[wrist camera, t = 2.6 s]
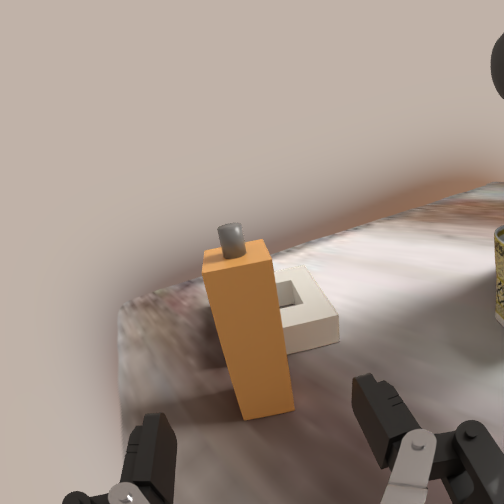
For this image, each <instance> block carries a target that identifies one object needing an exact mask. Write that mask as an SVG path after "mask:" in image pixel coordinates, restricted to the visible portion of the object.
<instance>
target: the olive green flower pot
mask: <svg viewBox="0 0 504 504" xmlns="http://www.w3.org/2000/svg"><path fill="white" fill-rule="evenodd" d="M494 242H495V264H496V275H497V280H496V312H495V318H496V319H497V321H498V322H499V323H500V324H501V325H502V326H503V327H504V225H503V226H500V227H499V228H497V229H496V230H495V233H494Z"/></svg>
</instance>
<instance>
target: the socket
mask: <svg viewBox="0 0 504 504" xmlns="http://www.w3.org/2000/svg"><path fill="white" fill-rule="evenodd" d="M274 275H275V282H276V288H277V294H278V301H279V307H280V306H285V305H289V304H295V306H291V307H286V308H281V309H280V313H281V320H282V326H283V333H284V339H285V346H286V353H287V355H288V354H292V353H296V352H301V351H305V350H309V349H313V348H317V347H321V346H325V345H329V344H333V343H336V342H339V316H338V313H337V312H336V310H335V309H334V307H333V306H332V304H331V303H330V301H329V300H328V298H327V297H326V296H325V294H324V293H323V291H322V290H321V288H320V287H319V285H318V284H317V282H316V281H315V280H314V278H313V277H312V275H311V274H310V272H309V271H308V269H307V268H306V267H305V265H302V266H298V267H293V268H288V269H283V270H278V271H274Z"/></svg>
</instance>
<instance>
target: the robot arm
mask: <svg viewBox="0 0 504 504" xmlns="http://www.w3.org/2000/svg"><path fill="white" fill-rule="evenodd" d="M491 75H492V80H493V83H494V85H495V88H496V90H497V92H498V93H499V95H500V96H501V97H502V98H503V99H504V33H503V34H502V36H501V37H500V38H499V39H498V40H497V42H496V43H495V45H494V48H493V51H492V55H491ZM352 408H353V412H354V414H355V416H356V418H357V420H358V423H359V425H360V427H361V429H362V431H363V433H364V435H365V437H366V439H367V441H368V443H369V445H370V447H371V450H372V452H373V454H374V456H375V458H376V460H377V462H378V464H379V466H380V468H381V469H384V468H386V467H389V468H390V470H391V472H392V473H391V476H390V478H389V481H388V484H387V487H386V489H385V492H384V495H383V497H382V500H381V502H380V504H424V503H425V499H426V496H427V491H428V488H427V483H428V481H429V480H435V479H440V478H441V480H442V482H443V484H444V486H445V488H446V490H447V492H448V494H449V497H450V499H451V501H452V503H453V504H504V454H503V453H502V451H501V450H500V448H499V447H498V445H497V444H496V442H495V441H494V439H493V438H492V436H491V435H490V433H489V432H488V431H487V429H486V428H485V426H484V425H483V424H482V423H480V422H478V421H475V420H468V421H465V422H463V423H461V424H460V425H459V426H458V427H457V429H456V431H452V432H447V433H441V434H433V433H431V432H430V431H428V430H425V429H422V428H421V427H420V426H419V424H418V423H417V421H416V420H415V418H414V417H413V415H412V414H411V412H410V411H409V409H408V408H407V406H406V405H405V403H403V400H402V399H401V397H400V396H399V394H398V393H397V391H396V390H395V388H394V387H393V386H392V385H390V384H389V383H387V382H386V381H381V382H378V383H377V382H376V380H375V378H374V377H373V375H372V374H371V373H367V374H364V375H361V376H358V377H354V378H353V381H352ZM126 452H127V454H126V455H125V460H124V465H123V470H122V474H121V480H120V482H119V483H118V484H116V485H115V486H113V487H112V488H111V490H110V491H109V493H107V494H103V495H98V496H93V497H89V496H87V495H86V494H85V493H83V492H79V491H75V492H71V493H69V494H68V495H67V496H66V497H65V498H64V500H63V502H62V504H173V498H174V482H175V467H176V454H177V440H176V436H175V433H174V431H173V430H172V428H171V426H170V424H169V422H168V420H167V418H166V416H165V415H164V413H151V414H145V416H144V421H143V426H136V427H135V429H134V430H133V431H132V433H131V434H130V438H129V442H128V446H127V451H126Z"/></svg>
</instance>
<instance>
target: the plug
mask: <svg viewBox="0 0 504 504" xmlns="http://www.w3.org/2000/svg"><path fill="white" fill-rule="evenodd" d="M217 230H218V234H219V239H220V244H221V247H220V248H215V249H211V250H205V251H204V259H203V267H202V276H203V280H204V284H205V288H206V292H207V295H208V299H209V303H210V307H211V311H212V314H213V318H214V322H215V325H216V329H217V332H218V336H219V340H220V343H221V347H222V350H223V354H224V357H225V360H226V364H227V367H228V371H229V374H230V377H231V381H232V384H233V387H234V390H235V394H236V397H237V400H238V403H239V407H240V410H241V413H242V416H243V419H244V420H250V419H256V418H261V417H266V416H271V415H276V414H281V413H286V412H290V411H294V410H295V408H294V401H293V394H292V387H291V380H290V373H289V366H288V360H287V353H286V346H285V339H284V333H283V326H282V320H281V313H280V307H279V301H278V294H277V288H276V282H275V275H274V269H273V263H272V258H271V256H270V254H269V252H268V250H267V248H266V246H265V243H264V241H263V240H262V239H261V240H255V241H251V242H246V243H245V242H244V237H243V231H242V226H241V224H240V223H230V224H225V225H222V226H220V227H218V229H217Z"/></svg>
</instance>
